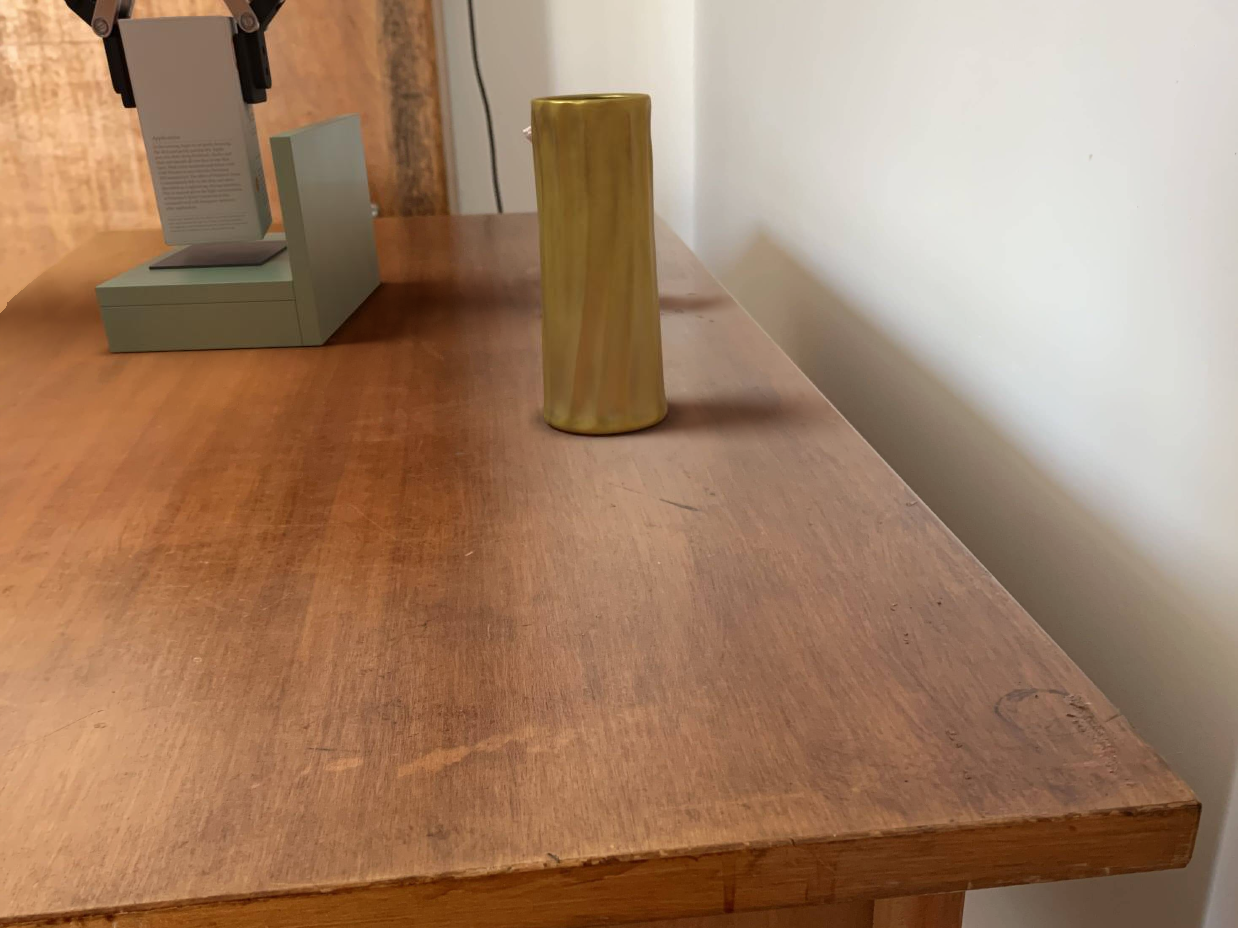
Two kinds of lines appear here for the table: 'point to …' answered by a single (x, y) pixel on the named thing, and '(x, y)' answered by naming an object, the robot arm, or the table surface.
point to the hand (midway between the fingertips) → (196, 102)
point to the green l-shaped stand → (263, 262)
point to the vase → (598, 262)
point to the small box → (197, 129)
